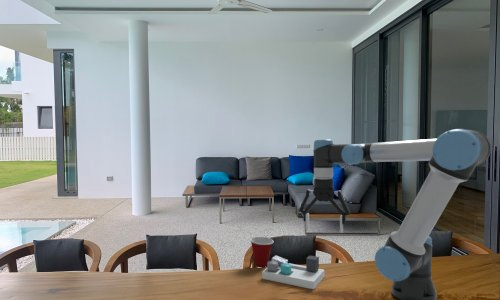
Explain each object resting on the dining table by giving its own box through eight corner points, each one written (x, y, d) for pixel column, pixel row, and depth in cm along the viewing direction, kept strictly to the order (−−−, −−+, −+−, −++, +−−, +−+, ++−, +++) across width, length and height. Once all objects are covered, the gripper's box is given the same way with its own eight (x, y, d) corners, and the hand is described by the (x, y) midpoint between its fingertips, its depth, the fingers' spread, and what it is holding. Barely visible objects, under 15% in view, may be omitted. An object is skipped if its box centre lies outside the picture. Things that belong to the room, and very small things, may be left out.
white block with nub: (287, 263, 155) (288, 260, 154) (283, 266, 151) (284, 263, 151) (275, 258, 157) (275, 255, 157) (271, 261, 154) (271, 258, 154)
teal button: (292, 271, 146) (292, 264, 146) (288, 275, 142) (288, 267, 142) (283, 269, 148) (283, 262, 148) (278, 273, 144) (278, 266, 144)
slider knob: (318, 268, 148) (318, 257, 148) (315, 272, 144) (315, 259, 144) (309, 267, 150) (309, 255, 150) (306, 270, 146) (306, 258, 146)
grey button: (279, 269, 149) (279, 262, 149) (275, 272, 145) (275, 265, 145) (270, 267, 151) (270, 260, 151) (265, 270, 147) (265, 263, 147)
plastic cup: (273, 270, 156) (273, 243, 155) (249, 269, 157) (249, 242, 156) (274, 261, 167) (274, 236, 166) (251, 260, 168) (251, 235, 167)
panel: (324, 276, 148) (324, 267, 148) (313, 289, 136) (313, 279, 136) (276, 267, 159) (276, 258, 159) (262, 278, 147) (262, 269, 146)
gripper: (356, 177, 141) (357, 231, 141) (295, 176, 150) (296, 226, 151) (354, 179, 134) (355, 235, 134) (290, 178, 143) (291, 230, 144)
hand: (324, 230), depth 142 cm, fingers open, 13 cm apart
